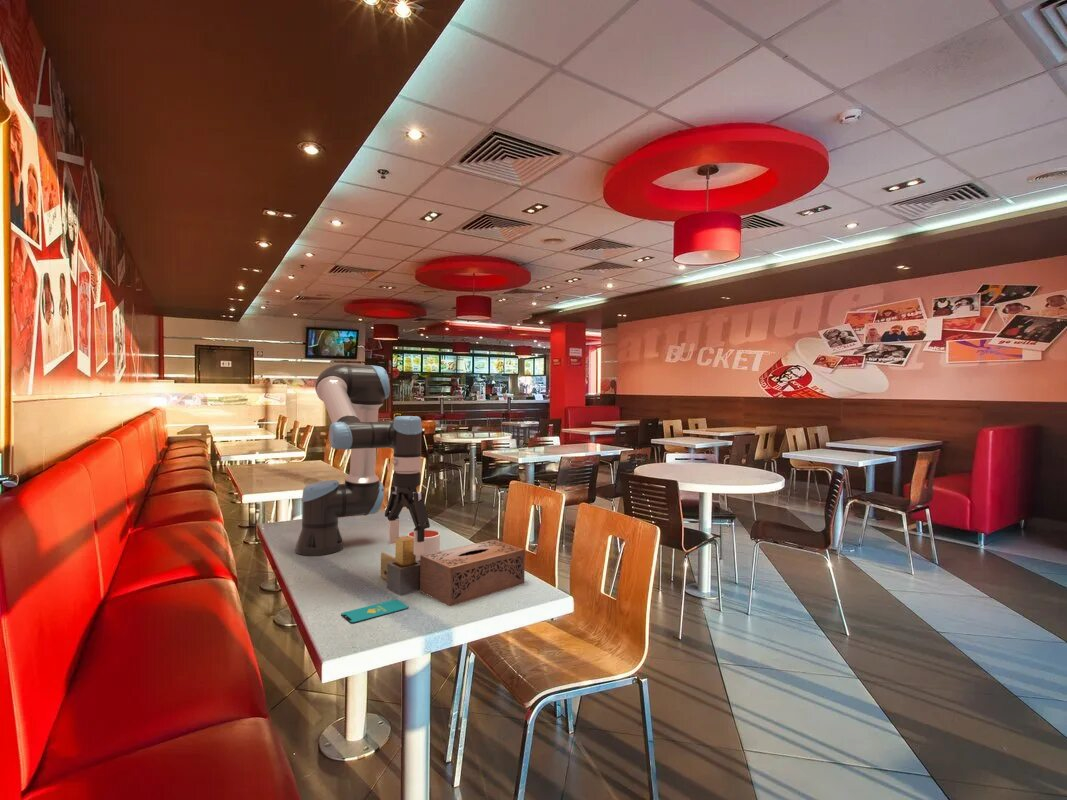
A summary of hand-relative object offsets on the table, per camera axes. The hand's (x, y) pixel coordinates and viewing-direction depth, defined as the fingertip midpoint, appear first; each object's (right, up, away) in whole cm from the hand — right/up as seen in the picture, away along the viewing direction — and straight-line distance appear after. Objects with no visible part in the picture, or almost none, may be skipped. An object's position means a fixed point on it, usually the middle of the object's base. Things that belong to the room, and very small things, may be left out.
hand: (405, 548), depth 146 cm
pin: (0, -8, 0) cm, 8 cm away
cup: (0, -12, +21) cm, 24 cm away
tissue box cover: (+18, -12, +2) cm, 22 cm away
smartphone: (-4, -12, -16) cm, 20 cm away
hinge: (0, -11, +7) cm, 13 cm away
